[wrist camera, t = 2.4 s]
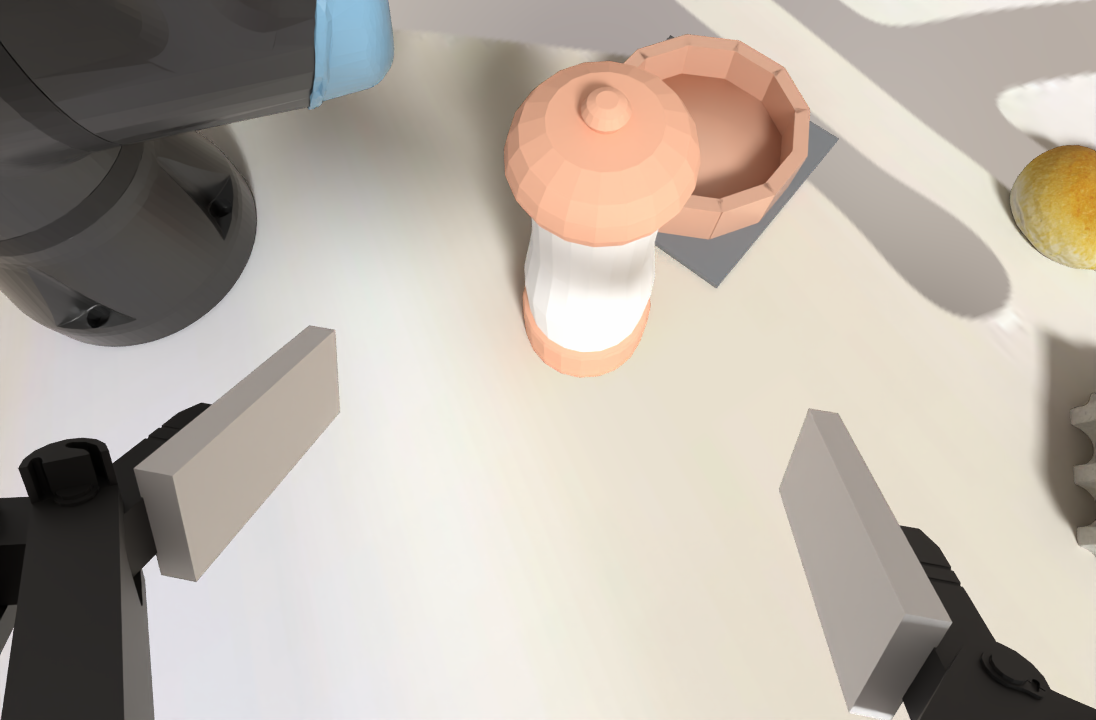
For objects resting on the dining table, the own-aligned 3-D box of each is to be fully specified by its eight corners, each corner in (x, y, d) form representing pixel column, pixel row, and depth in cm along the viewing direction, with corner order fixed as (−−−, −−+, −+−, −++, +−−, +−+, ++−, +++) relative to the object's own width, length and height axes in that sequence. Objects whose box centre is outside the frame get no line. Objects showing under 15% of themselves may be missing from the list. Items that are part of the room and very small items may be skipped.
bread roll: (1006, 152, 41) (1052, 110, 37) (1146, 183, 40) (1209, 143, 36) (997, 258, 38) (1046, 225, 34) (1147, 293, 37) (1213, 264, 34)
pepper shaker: (626, 257, 39) (685, -7, 20) (656, 363, 36) (754, 173, 18) (514, 281, 38) (473, 33, 20) (539, 389, 36) (517, 222, 18)
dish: (557, 162, 40) (556, 131, 37) (672, 44, 43) (680, 5, 40) (715, 274, 38) (729, 249, 35) (827, 139, 40) (849, 106, 37)
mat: (545, 167, 41) (545, 163, 40) (669, 39, 44) (670, 35, 43) (716, 288, 38) (717, 285, 37) (836, 142, 41) (838, 138, 40)
